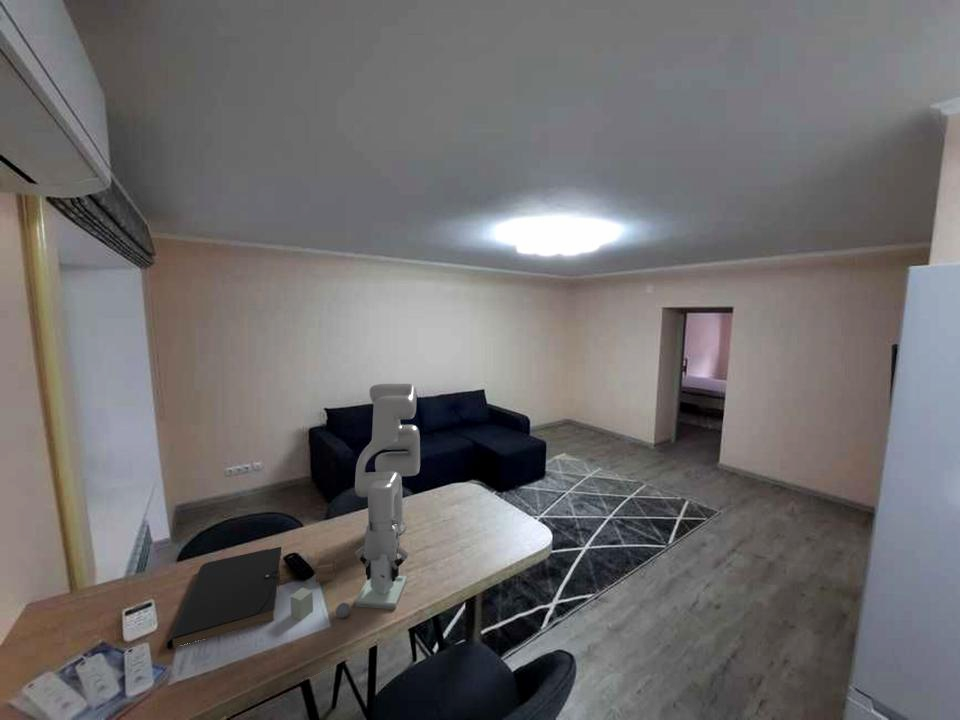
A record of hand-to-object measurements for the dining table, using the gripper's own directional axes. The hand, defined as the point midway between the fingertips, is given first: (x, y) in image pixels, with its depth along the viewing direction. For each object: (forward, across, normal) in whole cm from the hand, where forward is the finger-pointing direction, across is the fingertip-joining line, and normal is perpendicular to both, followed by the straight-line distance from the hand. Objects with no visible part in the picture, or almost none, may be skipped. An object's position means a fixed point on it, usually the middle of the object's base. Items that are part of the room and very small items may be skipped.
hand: (382, 577), depth 116 cm
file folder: (+6, +44, +5) cm, 45 cm away
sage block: (+5, +20, +10) cm, 23 cm away
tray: (+5, 0, 0) cm, 5 cm away
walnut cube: (+5, +21, -6) cm, 22 cm away
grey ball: (+5, +8, +10) cm, 14 cm away
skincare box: (+3, 0, 0) cm, 3 cm away
